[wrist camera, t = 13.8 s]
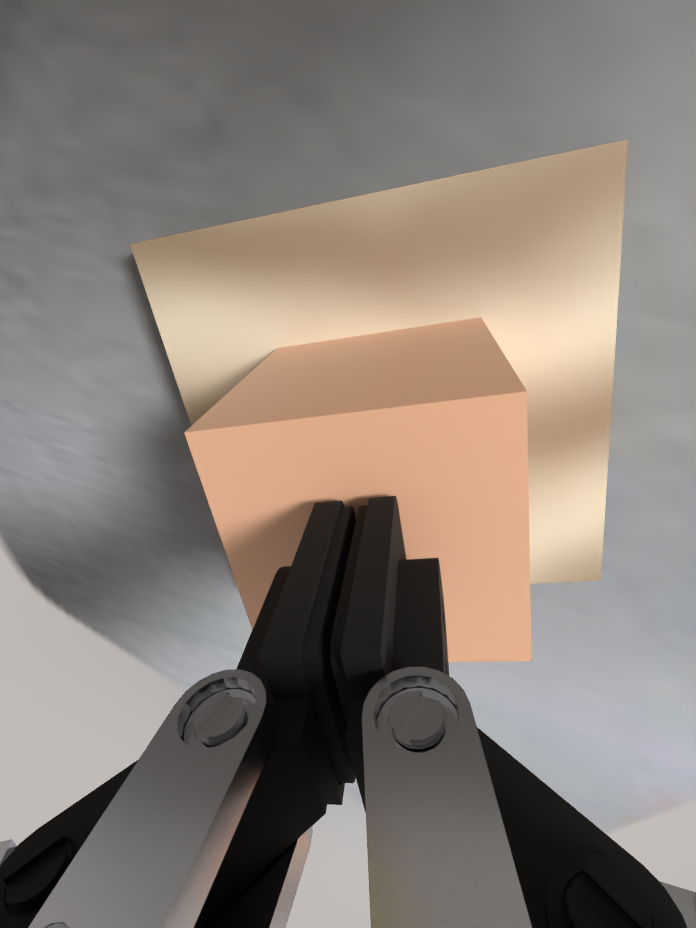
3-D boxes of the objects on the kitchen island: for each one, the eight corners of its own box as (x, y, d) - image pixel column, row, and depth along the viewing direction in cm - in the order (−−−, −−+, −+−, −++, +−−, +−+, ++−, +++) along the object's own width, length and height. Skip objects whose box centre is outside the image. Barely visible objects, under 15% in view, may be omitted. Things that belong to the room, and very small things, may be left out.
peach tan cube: (277, 348, 16) (183, 432, 9) (481, 316, 14) (527, 390, 8) (317, 514, 18) (264, 665, 12) (491, 500, 17) (531, 660, 11)
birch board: (149, 242, 16) (129, 243, 15) (611, 145, 13) (627, 139, 12) (257, 578, 22) (249, 596, 21) (590, 560, 19) (600, 580, 18)
